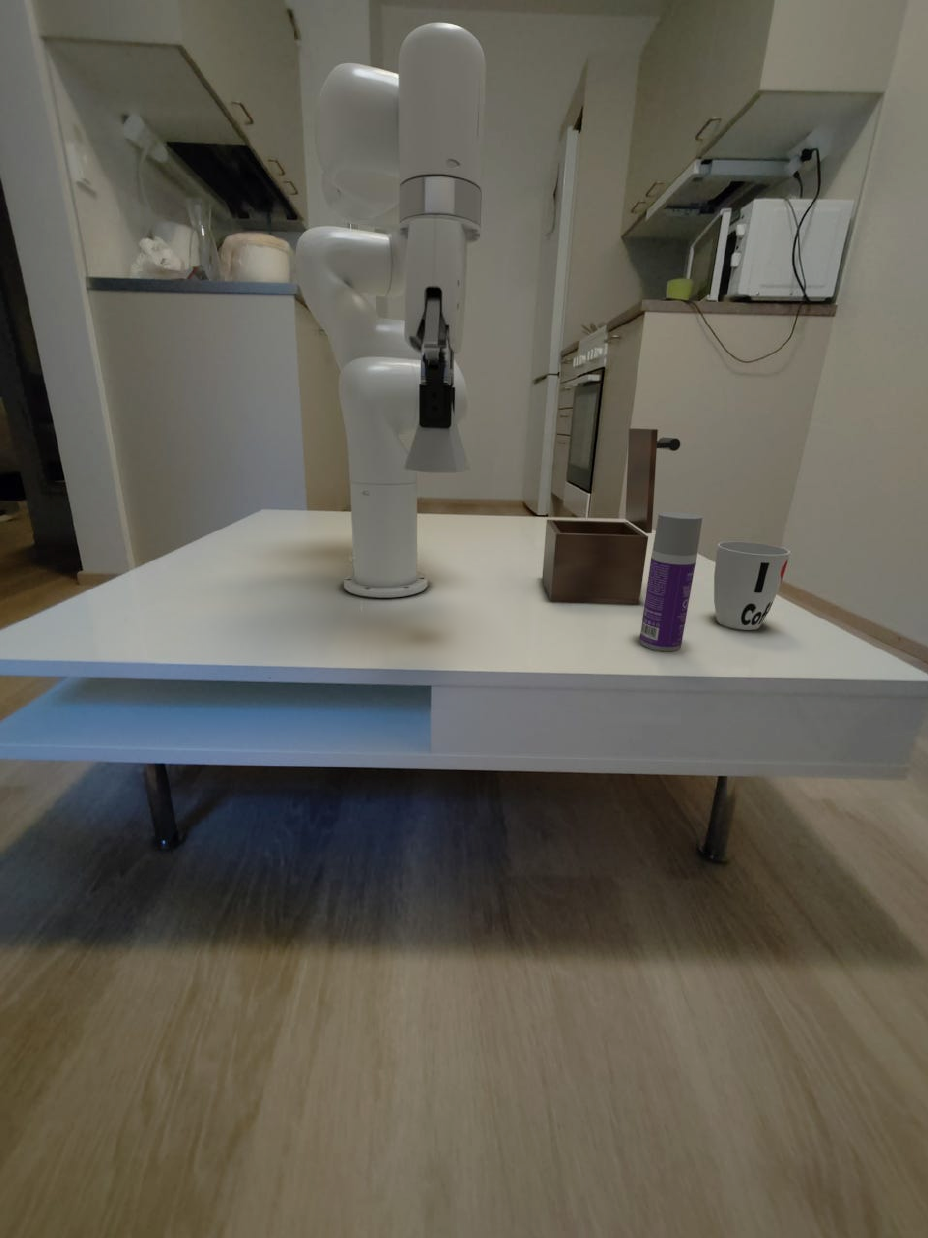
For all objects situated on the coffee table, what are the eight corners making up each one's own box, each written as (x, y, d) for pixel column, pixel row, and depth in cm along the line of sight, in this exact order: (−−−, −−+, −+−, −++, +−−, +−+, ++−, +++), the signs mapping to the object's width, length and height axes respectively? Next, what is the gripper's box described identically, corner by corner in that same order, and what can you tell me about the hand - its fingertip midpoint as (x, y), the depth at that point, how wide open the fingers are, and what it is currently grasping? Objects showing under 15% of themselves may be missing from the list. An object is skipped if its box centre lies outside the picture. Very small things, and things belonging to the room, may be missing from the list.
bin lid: (651, 429, 70) (690, 427, 70) (629, 428, 81) (662, 426, 81) (645, 533, 74) (682, 531, 74) (625, 519, 85) (657, 517, 85)
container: (684, 653, 61) (708, 519, 56) (641, 649, 62) (660, 517, 57) (677, 638, 66) (699, 513, 61) (637, 634, 67) (655, 510, 61)
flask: (393, 472, 56) (392, 364, 52) (413, 466, 62) (413, 370, 59) (463, 476, 55) (466, 366, 51) (475, 469, 61) (479, 372, 58)
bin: (550, 601, 78) (556, 533, 75) (542, 579, 89) (546, 519, 86) (638, 604, 78) (648, 536, 75) (619, 582, 89) (627, 521, 85)
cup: (744, 638, 66) (761, 557, 63) (690, 617, 73) (703, 543, 70) (786, 628, 70) (804, 551, 67) (731, 609, 77) (745, 539, 73)
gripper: (412, 241, 58) (413, 424, 65) (382, 179, 43) (386, 427, 49) (483, 243, 58) (476, 426, 64) (477, 181, 43) (469, 430, 49)
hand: (437, 425), depth 57 cm, fingers closed on flask, 3 cm apart
